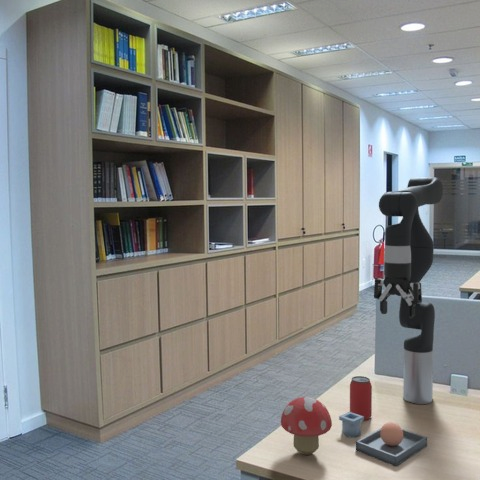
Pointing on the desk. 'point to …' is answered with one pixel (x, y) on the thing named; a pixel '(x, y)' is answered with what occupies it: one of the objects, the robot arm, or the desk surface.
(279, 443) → the desk surface
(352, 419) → the square to round adapter
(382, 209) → the robot arm
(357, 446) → the tray
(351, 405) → the beer can
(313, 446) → the decorative mushroom
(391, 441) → the ball
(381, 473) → the desk surface
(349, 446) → the desk surface
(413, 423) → the desk surface
